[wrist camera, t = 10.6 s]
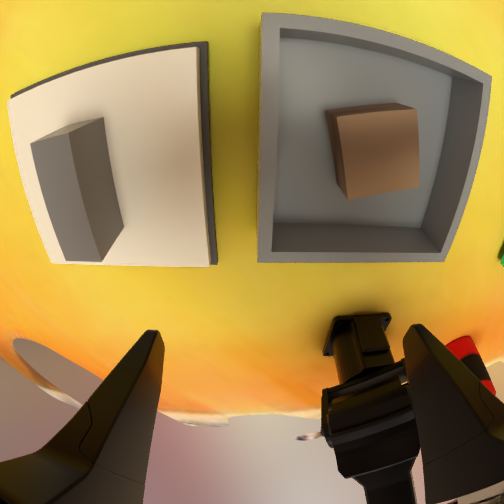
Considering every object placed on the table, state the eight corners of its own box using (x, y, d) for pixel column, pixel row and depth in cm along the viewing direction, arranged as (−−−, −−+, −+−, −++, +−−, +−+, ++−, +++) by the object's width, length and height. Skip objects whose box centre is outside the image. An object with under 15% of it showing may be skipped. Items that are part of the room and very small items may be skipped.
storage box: (421, 232, 21) (444, 261, 17) (256, 228, 20) (257, 262, 17) (455, 69, 12) (491, 76, 9) (259, 26, 12) (262, 12, 9)
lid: (210, 258, 21) (202, 307, 17) (56, 256, 21) (30, 293, 17) (199, 48, 13) (178, 38, 9) (15, 98, 12) (-30, 115, 8)
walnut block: (402, 172, 17) (419, 187, 15) (336, 183, 18) (347, 200, 16) (397, 102, 14) (416, 109, 12) (324, 110, 15) (336, 116, 13)
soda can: (449, 364, 36) (471, 421, 26) (423, 365, 35) (445, 431, 25) (478, 335, 31) (506, 396, 22) (454, 334, 30) (484, 404, 21)
